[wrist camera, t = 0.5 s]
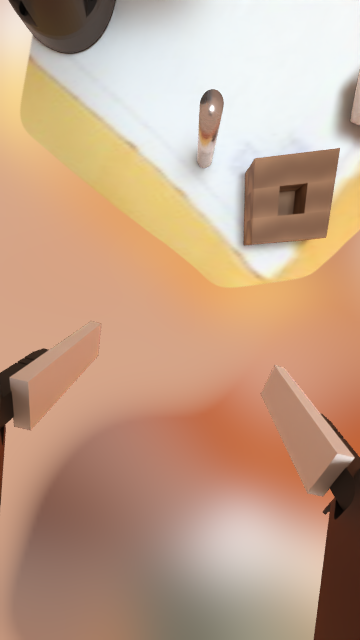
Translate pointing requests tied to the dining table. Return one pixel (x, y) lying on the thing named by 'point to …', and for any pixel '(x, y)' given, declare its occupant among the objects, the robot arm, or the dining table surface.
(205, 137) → the pin
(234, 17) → the dining table surface
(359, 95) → the die
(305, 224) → the socket block
